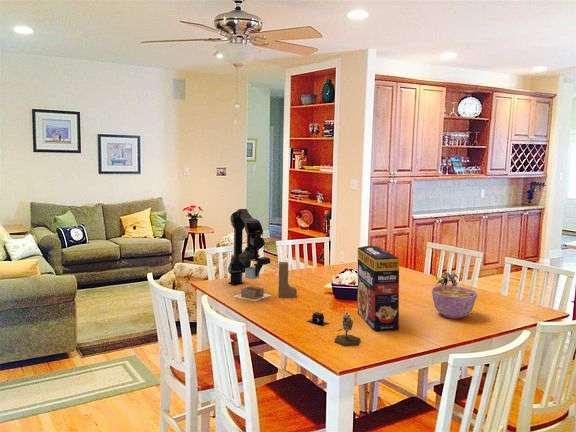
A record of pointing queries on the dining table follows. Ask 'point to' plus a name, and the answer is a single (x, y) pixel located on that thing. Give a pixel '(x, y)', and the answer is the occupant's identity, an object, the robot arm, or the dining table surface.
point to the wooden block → (285, 283)
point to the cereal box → (378, 288)
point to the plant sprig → (447, 279)
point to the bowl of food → (453, 300)
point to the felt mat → (251, 299)
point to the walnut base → (252, 292)
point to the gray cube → (250, 273)
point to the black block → (315, 319)
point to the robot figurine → (346, 339)
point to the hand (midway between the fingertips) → (252, 275)
